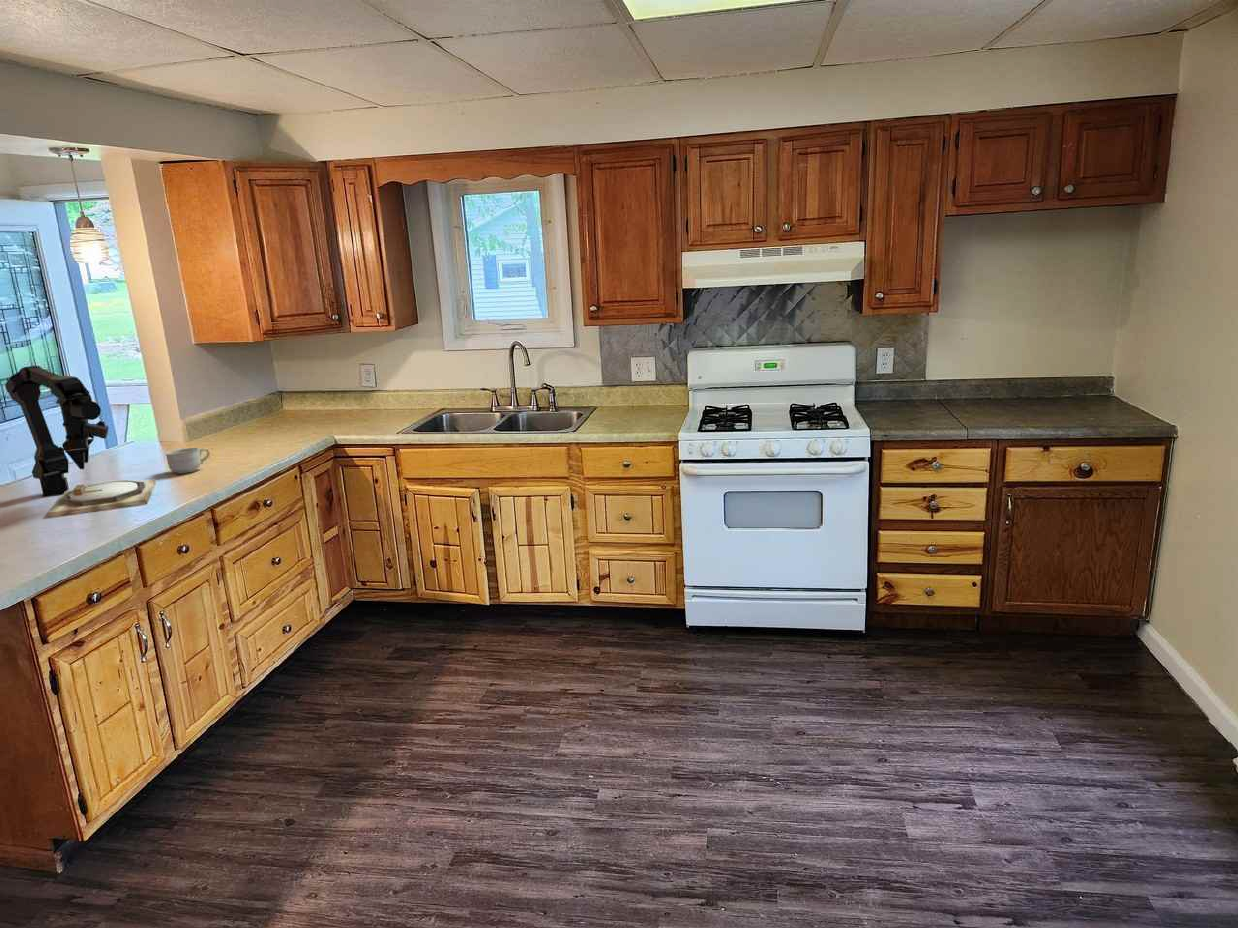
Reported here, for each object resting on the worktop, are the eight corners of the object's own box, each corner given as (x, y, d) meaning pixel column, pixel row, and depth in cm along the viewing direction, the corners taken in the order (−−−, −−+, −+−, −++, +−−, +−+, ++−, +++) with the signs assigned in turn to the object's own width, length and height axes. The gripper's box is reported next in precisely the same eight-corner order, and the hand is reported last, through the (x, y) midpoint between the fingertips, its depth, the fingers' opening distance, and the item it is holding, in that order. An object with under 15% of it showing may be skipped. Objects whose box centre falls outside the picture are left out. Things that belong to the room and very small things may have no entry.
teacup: (167, 477, 282) (163, 455, 280) (170, 470, 292) (166, 448, 290) (211, 471, 287) (207, 450, 285) (213, 465, 297) (209, 444, 295)
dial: (141, 483, 269) (139, 473, 268) (134, 497, 253) (132, 486, 252) (76, 491, 262) (74, 481, 261) (64, 507, 245) (62, 495, 245)
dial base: (49, 517, 241) (46, 507, 240) (66, 495, 264) (64, 486, 263) (147, 503, 251) (145, 494, 250) (156, 483, 274) (154, 475, 273)
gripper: (100, 419, 246) (110, 468, 250) (107, 410, 262) (116, 456, 267) (57, 424, 242) (68, 473, 246) (67, 414, 258) (77, 460, 262)
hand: (84, 465), depth 255 cm, fingers open, 9 cm apart
